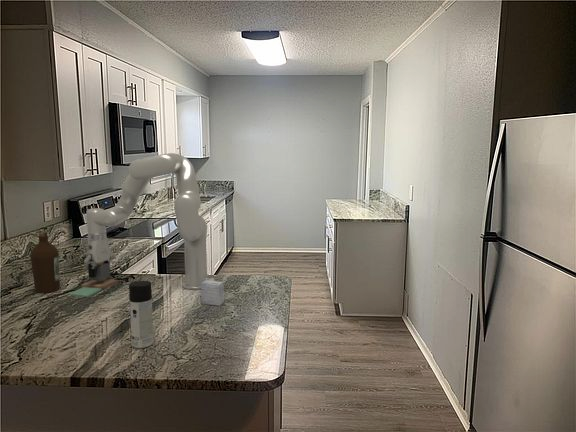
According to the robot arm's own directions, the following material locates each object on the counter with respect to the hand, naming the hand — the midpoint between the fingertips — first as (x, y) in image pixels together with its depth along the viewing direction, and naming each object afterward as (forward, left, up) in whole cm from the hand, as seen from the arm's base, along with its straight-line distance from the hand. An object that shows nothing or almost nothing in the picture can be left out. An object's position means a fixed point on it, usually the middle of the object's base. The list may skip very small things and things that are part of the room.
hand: (99, 274), depth 195 cm
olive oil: (+17, +12, -5) cm, 21 cm away
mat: (-1, +11, -5) cm, 12 cm away
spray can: (-51, +48, -5) cm, 70 cm away
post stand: (0, 0, -5) cm, 5 cm away
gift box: (0, 0, -2) cm, 2 cm away
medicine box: (-58, +9, -5) cm, 59 cm away
